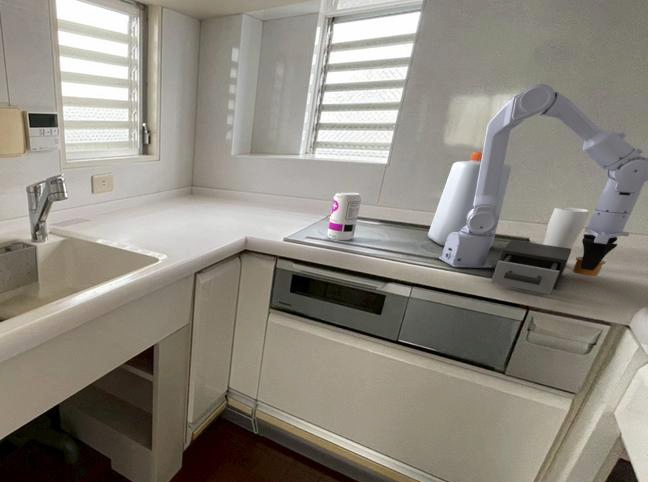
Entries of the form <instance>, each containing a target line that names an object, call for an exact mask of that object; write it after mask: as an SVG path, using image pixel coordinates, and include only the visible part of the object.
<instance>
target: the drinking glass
mask: <svg viewBox="0 0 648 482" xmlns="http://www.w3.org/2000/svg"><path fill="white" fill-rule="evenodd" d="M589 214H590V210H589V209H585V208H579V207H571V206H569V207H567V206H556V207H554V208H553V211H552V213H551V216H550V218H549V220H548V224H547V227H546V231H545V235H544V239H543V242H542V245H549V246H556V247H563V248H570V249H571V250H572V249H573V248H574V245H575V243H576V242H577V240H578V238H579V236H580V234H581V232H582V230H583V229H584V227H585V224H586V222H587V220H588V217H589Z"/></svg>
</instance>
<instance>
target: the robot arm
mask: <svg viewBox="0 0 648 482" xmlns="http://www.w3.org/2000/svg"><path fill="white" fill-rule="evenodd" d="M538 114H540V115H539V116H541V117H546V118H553V119H556V120H557V121H558V122H559V123H561V124H562V125H564V127H566V128H567V129H568V130H569V131H571V132H572V133H573V134H574V135H575V136H577V137H578V138H579V139H580V140H582V141H583V145H582V148H581V150H582V152H583V153H585V155H587V156H588V157H589V159H591V160H592V161H594V162H595V164H597V166H599V167H600V168H601V169H602V170H604V171H605V170H606V175H607V178H608V180H607V182H606V185H605V187H604V188H603V190H602V192H601V194H600V197H599V199H598V201H597V203H596V206H595V208H594V211H593V213H592V215H591V217H590V220H589V222H588V224H587V226H586V227H585V229H584V232H585V234H583V238H582V240H581V242H582V247H583V252H582V253H583V254H582V257H583V259H582V264H581V269H586V270H592V271H593V270H594V269H595V268H596V267H597V266H598V264H599V263H600V262H601V260H603V259H604V258H605V257H606V255H608V254H609V253H610V252H611V251H612V250H614V249H615V248H617V247H618V243H616V241H618V238H619V237H629V235H630V233H631V232H629V231H624V229H625V227H626V225H627V222H628V220H629V218H630V216H631V215H632V212H633V209H634V207H635V206H636V204H637V201H638V199H639V198H640V195H641V192H642V189H643V187H644V185H645V183H646V182H648V157H644V156H642V155H641V154H642V153H643V152H644V150H642V149H641V148H636V147H634V146H633V145H632V144H631V143H630V142H628V141H627V140H626V139H625V137H626V136H627V134H626V133H624V132H623V131H619V132H617V131H616V130H615V129H605V130H602V128H600V127H599V126H597V124H596V123H594V121H593V120H592V119H591V118H590V117H588V115H586V114H585V113H584V112H583V111H582V109H580V108H579V107H578V106H577V105H576V104H575V103H574V102H573V101H572V100H571V99H569V97H566V96H565V95H564V94H563V93H561V92H558V91H555V89H554V88H553V87H552V86H551V85H549V84H545V83H539V84H537V83H536V84H534V85H531V86H529V87H527V88H526V89H524V90H522V91H520V92H519V93H517V94H516V95H514V96H513V97H511V98H510V99H509V100H508V101H507V102H506V103H505V105H503V107H502V108H500V110H499V111H498V112H496V114H495V115H494V116H493V117H492V118H491V119H490V120H489V121H488V123H487V126H486V130H485V131H486V132H485V138H484V143H483V149H482V152H483V154H482V159H481V165H480V171H479V176H478V182H477V188H476V193H475V198H474V202H473V206H472V208H471V209H470V211H469V212H468V214H467V217H466V219H467V225H466V226H465V227H463V228H462V229H461V231H459V232H453V233H450V234H449V236H448V237H447V239H446V243H445V246H443V250H442V254H441V256H439V260H441V261H443V262H444V263H446V264H448V265H450V266H451V267H454V268H469V269H470V268H471V269H472V268H473V269H493V266H492V265H490V264H488V263H486V261H487V258H488V256H489V252H490V249H491V247H492V246H491V243H492V240H493V237H494V234H495V235H496V233H495V232H494V231H493V230H494V229H495V228H496V226H497V227H498V225H499V221H498V216H497V214H496V206H497V196H498V191H499V186H500V181H501V175H502V170H503V165H504V163H505V161H506V154H507V148H508V143H509V140H510V139H509V138H510V133H511V131H512V130H513V129H515V128H516V127H518V126H519V125H520V124H521V123H524V121H525V120H527V119H529V118H531V117H533V116H536V115H538ZM494 238H495V237H494ZM490 246H491V247H490Z"/></svg>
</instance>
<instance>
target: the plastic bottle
mask: <svg viewBox="0 0 648 482" xmlns="http://www.w3.org/2000/svg"><path fill="white" fill-rule="evenodd" d="M482 154H483V151H473V152H472V153H471V155H470V159H469V160H464V161H460V160H459V161H456V162H454V163H453V164H452V166H451V169H450V171H449V174H448V177H447V180H446V183H445V186H444V187H443V190H442V194H441V197H440V199H439V202H438V205H437V208H436V210H435V213H434V216H433V219H432V222H431V225H430V228H429V230H428V233H427V237H428V238H429V239H430V240H431V241H433V242H435V243H436V244H438V245H440V246H443V247H444V246H445V243H446V239H447V237H448V236H449V234H450V233H453V232H459V231H461V229H462V228H463V227H465V226H466V225H467V219H466V217H467V214H468V212H469V211H470V209H471V208H472V206H473V202H474V198H475V193H476V188H477V182H478V176H479V171H480V165H481V159H482ZM511 172H512V167H511V165H510V164H508V163H505V162H504V165H503V170H502V175H501V181H500V186H499V191H498V196H497V206H496V214H497V216H498V222H499V221H500V216H501V212H502V209H503V208H502V207H503V204H504V200H505V197H506V191H507V188H508V183H509V179H510V176H511ZM497 228H498V225H497V226H496V228H495V229H494V230H493V231H494V232H495V234H494V237H493V240H492V243H491V246H490V248H491V247H493V244H494V241H495V236H496V234H497V233H496V232H497Z"/></svg>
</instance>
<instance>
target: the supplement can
mask: <svg viewBox="0 0 648 482" xmlns="http://www.w3.org/2000/svg"><path fill="white" fill-rule="evenodd" d="M361 201H362V198H361V194H360V193H358V192H353V191H352V192H351V191H337V192H336V193H335V195H334V196H333V199H332V204H331V211H330V216H329V222H328V229H327V236H328V238H329V239H332V240H337V241H350V240H352V239H353V238H354V237H355V236H354V235H355V231H356V226H357V222H358V218H359V211H360V206H361Z"/></svg>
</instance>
